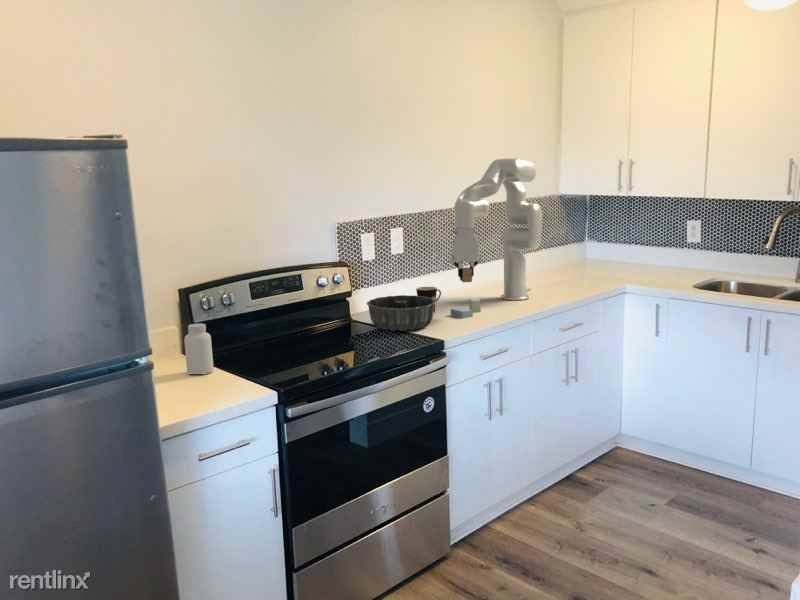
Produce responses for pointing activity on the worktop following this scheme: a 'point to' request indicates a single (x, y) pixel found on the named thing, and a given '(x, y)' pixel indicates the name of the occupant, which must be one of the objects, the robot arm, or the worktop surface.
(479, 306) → the sage block
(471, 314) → the slate block
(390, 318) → the bundt pan
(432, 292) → the coffee mug
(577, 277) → the worktop surface
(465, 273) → the walnut block
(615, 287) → the worktop surface
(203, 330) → the pill bottle
